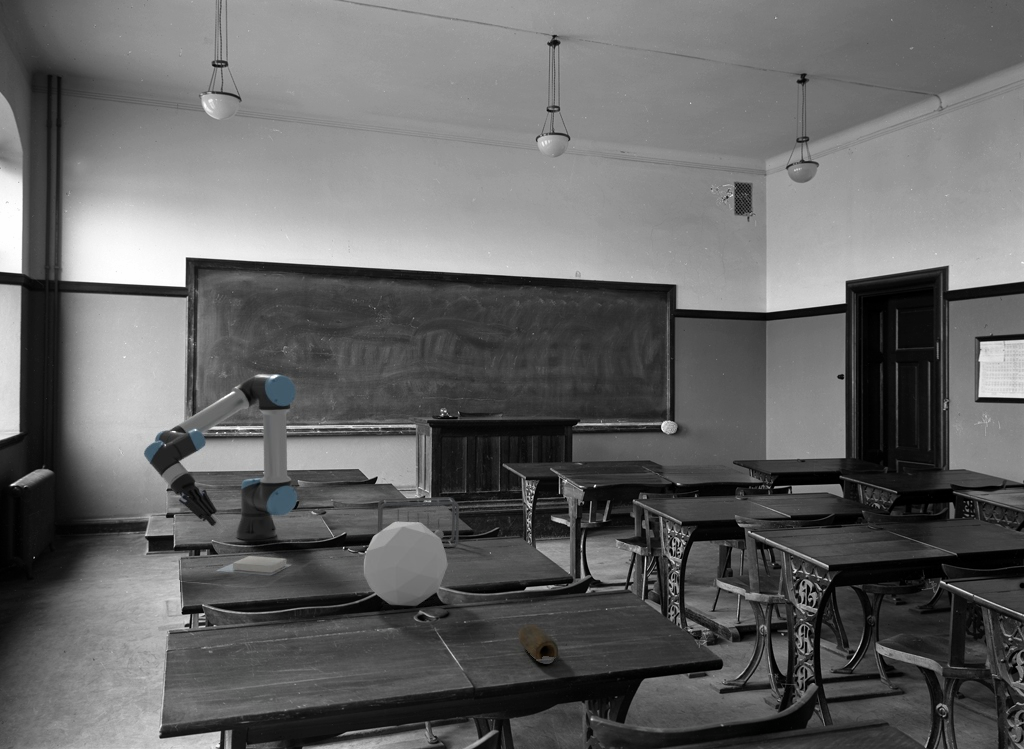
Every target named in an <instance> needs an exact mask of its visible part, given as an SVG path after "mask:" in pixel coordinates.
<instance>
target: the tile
mask: <svg viewBox="0 0 1024 749" xmlns="http://www.w3.org/2000/svg"><path fill="white" fill-rule="evenodd" d="M232 564H233V570H237V571H249V572H261V573H273V572H275V571H277V570H279V569H281V568H283V567H285V566H286V564H287V558H283V557H281V558H280V557H269V556H268V557H266V556H256V555H255V556H254V555H248V556H246V557H243V558H242V559H238V560H236V561H234V562H232Z"/></svg>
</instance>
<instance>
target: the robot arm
mask: <svg viewBox="0 0 1024 749" xmlns="http://www.w3.org/2000/svg"><path fill="white" fill-rule="evenodd" d="M296 394H297V391H296V386H295V384H294V382H293V381H292V380H291V378H289V377H288V376H286V375H283V374H282V375H281V374H277V373H276V374H266V373H260V374H259V373H258V374H255V375H253V376H251V377H249V378H248V379H246V380H244V381H242V382H240V383H239V384H238V385H236V386H235V387H232V388H231V392H229V393H228V394H226V395H225V396H223V397H221V398H220V399H218V400H216V401H215V402H213V403H212V404H210V405H209V406H207V407H205V408H204V409H201V411H199V412H197V413H196V414H193V415H192V416H190V417H189V418H187V419H185V420H184V421H182V422H181V423H179V424H178V425H175V426H174V427H172V428H170V429H168V430H161V431H160V432H158V433H157V434H156V436H155V438H154V442H151V443H150V444H149V445H148V446H147V447H146V448H145V449H144V452H143V455H144V457H145V458H146V460H147V462H149V465H150V466H151V467H153V468H154V470H155V472H157V473H158V474H159V476H160V477H161V478H162V479H163V480H164V481H165V483H166V484H167V485H168V486H169V487H170V489H171V490H172V491H173V492H174V494H175V495H177V496H179V495H180V498H179V499H178V501H179V502H180V503H181V504H183V505H184V506H185V507H187V509H188V510H190V511H191V512H192V513H193V514H194V515H195V516H196V517H197V518H198V519H200V520H202V521H203V522H205V521H207V522H208V524H209V525H210V526H211V527H212V528H213V529H214V531H215V532H216V533H217V535H220V534H222V533H223V532H225V530H226V529H227V527H226V526H225V524H224V523H223V522H222V521H221V520H220V519H219V518H218V516H217V515H216V513H217V511H218V510H217V508H216V507H215V505H214V503H213V502H212V500H211V499H210V497H209V495H208V493H207V490H206V489H203V490H200V488H199V487H197V486H196V484H195V483H196V480H195V478H194V477H193V476H192V474H190V473H189V471H188V470H187V469H186V468H185V466H183V464H182V463H181V461H182V460H184V459H186V458H188V457H189V456H191V455H193V454H195V453H197V452H199V451H200V450H202V449H203V448H204V447H205V446H206V445H207V444H206V438H205V436H204V435H203V434H204V433H206V432H209V430H210V429H213V428H214V427H215V426H218V424H220V423H222V422H224V421H225V420H226V419H228V418H230V417H231V416H233V415H235V414H236V413H237V412H240V411H241V410H242V409H244V410H247V409H250V408H251V407H253V406H256V405H258V411H259V412H261V414H262V417H263V418H262V419H263V422H262V423H263V424H262V425H263V428H262V431H263V432H262V433H263V474H264V475H263V477H260V478H259V477H258V478H247V479H244V480H243V481H242V482H241V487H240V491H241V495H240V496H241V498H240V499H241V500H240V504H241V505H240V506H241V507H240V508H241V510H240V511H241V513H240V515H241V516H240V520H239V522H238V526H237V529H236V531H235V533H236V535H235V536H236V538H237V539H239V540H248V541H250V540H252V541H253V540H254V541H256V540H266V539H271V538H273V537H276V535H277V528H276V525H275V522H274V519H273V516H285V515H287V514H289V513H291V512H292V510H293V509H294V508H295V506H296V504H297V501H298V494H297V491H296V490H295V489H294V487H292V478H291V477H290V476H289V475H288V451H287V450H288V447H287V446H288V444H287V438H288V437H287V429H288V428H287V414H288V412H289V411H290V410H291V404H292V403H293V401H294V400H295V398H296Z"/></svg>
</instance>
